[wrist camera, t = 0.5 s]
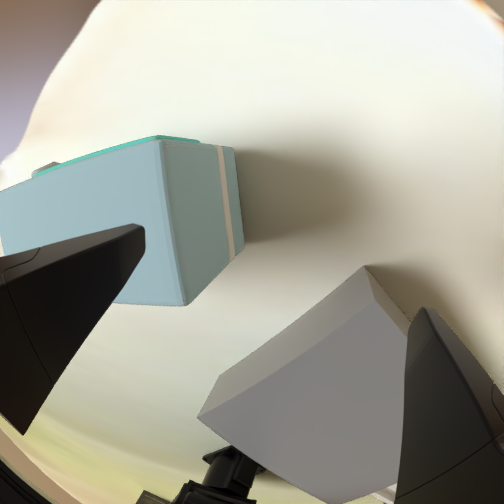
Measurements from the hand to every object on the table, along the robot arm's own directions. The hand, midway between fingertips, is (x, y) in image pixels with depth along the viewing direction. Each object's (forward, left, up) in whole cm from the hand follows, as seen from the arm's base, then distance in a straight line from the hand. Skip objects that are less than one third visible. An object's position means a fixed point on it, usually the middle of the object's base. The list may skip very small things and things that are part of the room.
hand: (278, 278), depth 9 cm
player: (-9, -16, -15) cm, 24 cm away
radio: (-9, +10, -16) cm, 20 cm away
